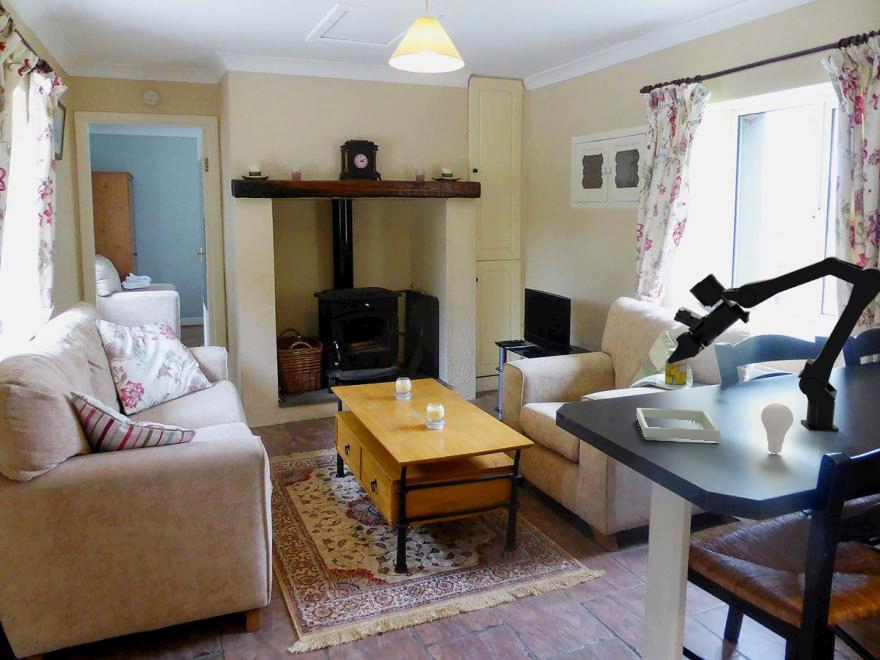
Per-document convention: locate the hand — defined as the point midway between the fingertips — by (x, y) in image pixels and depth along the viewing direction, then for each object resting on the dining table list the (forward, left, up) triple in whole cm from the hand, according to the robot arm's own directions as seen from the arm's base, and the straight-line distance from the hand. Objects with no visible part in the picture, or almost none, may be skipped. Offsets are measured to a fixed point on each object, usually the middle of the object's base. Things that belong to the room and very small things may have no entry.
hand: (671, 360), depth 184 cm
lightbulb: (-35, -16, -12) cm, 40 cm away
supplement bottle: (-1, -1, -7) cm, 7 cm away
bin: (-22, +2, -12) cm, 25 cm away
